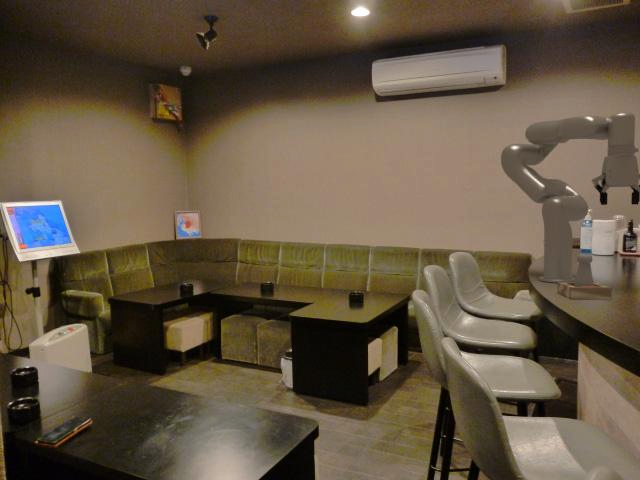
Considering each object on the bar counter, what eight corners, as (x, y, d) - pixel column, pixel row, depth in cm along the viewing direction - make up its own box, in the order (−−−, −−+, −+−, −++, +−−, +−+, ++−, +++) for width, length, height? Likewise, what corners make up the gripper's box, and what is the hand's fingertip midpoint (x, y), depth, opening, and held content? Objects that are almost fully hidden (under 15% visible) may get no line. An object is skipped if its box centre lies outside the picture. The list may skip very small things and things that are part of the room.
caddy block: (557, 292, 164) (557, 281, 164) (594, 292, 163) (594, 281, 163) (571, 299, 153) (572, 287, 153) (611, 299, 152) (611, 287, 151)
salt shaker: (589, 294, 161) (590, 253, 160) (597, 297, 155) (598, 255, 154) (570, 294, 161) (571, 253, 160) (577, 297, 156) (578, 255, 155)
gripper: (642, 152, 168) (641, 204, 169) (588, 153, 170) (586, 205, 171) (655, 150, 161) (653, 204, 162) (598, 151, 162) (596, 205, 164)
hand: (619, 204), depth 167 cm, fingers open, 9 cm apart
